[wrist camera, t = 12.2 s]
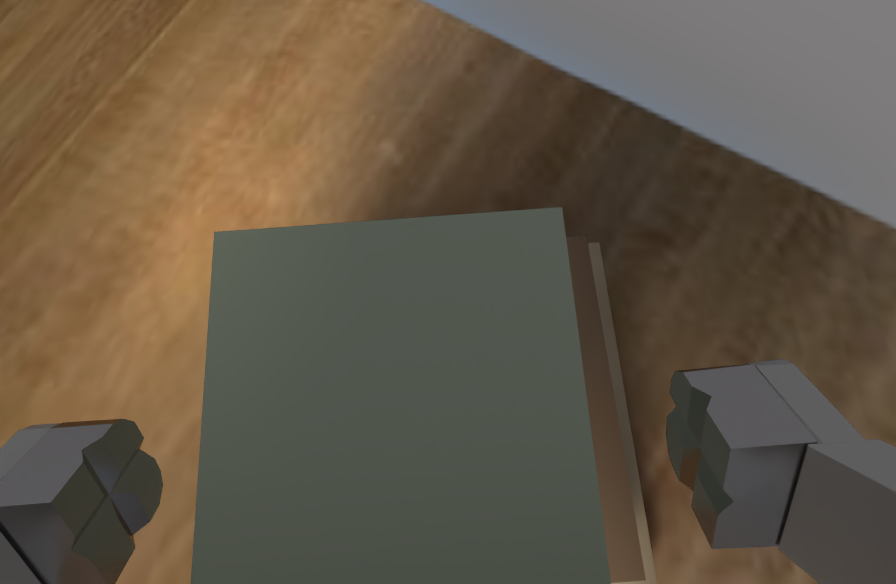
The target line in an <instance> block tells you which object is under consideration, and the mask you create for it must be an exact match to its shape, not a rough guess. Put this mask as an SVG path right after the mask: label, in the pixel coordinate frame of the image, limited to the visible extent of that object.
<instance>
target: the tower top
mask: <svg viewBox="0 0 896 584" xmlns="http://www.w3.org/2000/svg"><path fill="white" fill-rule="evenodd" d="M566 241H567V248H568V256H569V264H570V271H571V279H572V287H573V294H574V302H575V310H576V318H577V325H578V333H579V341H580V348H581V356H582V364H583V371H584V379H585V387H586V394H587V402H588V410H589V417H590V425H591V433H592V440H593V448H594V456H595V464H596V471H597V479H598V487H599V494H600V502H601V510H602V517H603V525H604V533H605V540H606V548H607V556H608V563H609V571H610V579H611V583H618V582H631V581H645V580H646V578H645V572H644V566H643V560H642V554H641V548H640V543H639V537H638V531H637V525H636V519H635V514H634V508H633V502H632V496H631V490H630V485H629V479H628V473H627V467H626V461H625V456H624V450H623V444H622V438H621V432H620V427H619V421H618V415H617V409H616V403H615V397H614V392H613V386H612V380H611V374H610V368H609V363H608V357H607V351H606V345H605V339H604V334H603V328H602V322H601V316H600V310H599V305H598V299H597V293H596V287H595V281H594V276H593V270H592V264H591V258H590V252H589V246H588V241H587V235H582V236H573V237H566Z"/></svg>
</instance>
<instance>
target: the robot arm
mask: <svg viewBox="0 0 896 584" xmlns="http://www.w3.org/2000/svg"><path fill="white" fill-rule="evenodd" d="M670 394H671V396H672V398H673V400H674V402H675V404H676V405H677V407H676V408H675V409H674V410H673V411H672V412H671V413H670V414H669V415H668V416H667V426H666V438H667V446H668V453H669V456H670V459H671V463H672V466H673V468H674V470H675V473H676V475H677V477H678V479H679V481H680V482H682V483H683V484H685V485H686V486H687V487H689V488H690V489H692V490H693V491H694V492H693V499H692V509H693V511H694V513H695V515H696V517H697V519H698V521H699V523H700V526H701V528H702V530H703V532H704V534H705V536H706V538H707V540H708V542H709V544H710V546H711V548H712V549H723V548H747V547H771V546H779V548H778V550H779V551H781V552H782V553H783V554H784V555H785V556H787V557H788V558H789V559H790V560H792V561H793V562H794V563H795V564H796V565H798V566H799V567H800V568H801V569H803V570H804V571H805V572H806V573H807V574H809V575H810V576H811V577H812V578H813V579H815V580H816V581H817V582H818V583H820V584H896V447H894V446H892V445H890V444H888V443H885V442H883V441H881V440H879V439H873V440H865V439H864V438H863V437H862V436H861V435H860V434H859V433H858V431H857V430H856V429H855V428H854V427H853V426H852V425H851V424H850V423H849V422H848V421H847V420H846V419H845V418H844V417H843V416H842V414H841V413H840V412H839V411H838V410H837V409H836V408H835V407H834V406H833V405H832V404H831V403H830V402H829V401H828V400H827V399H826V398H825V396H824V395H823V394H822V393H821V392H820V391H819V390H818V389H817V388H816V387H815V386H814V385H813V384H812V383H811V382H810V381H809V380H808V378H807V377H806V376H805V375H804V374H803V373H802V372H801V371H800V370H799V369H798V368H797V367H796V366H795V365H794V364H793V363H792V362H789V361H787V360H785V359H780V360H771V361H762V362H753V363H747V364H742V365H732V366H721V367H710V368H699V369H689V370H678V371H675V372H674V375H673V377H672V379H671V387H670ZM143 439H144V437H143V436H142V434H141V432H140V430H139V429H138V427H137V425H136V424H135V422H133V421H130V420H126V419H112V420H96V421H80V422H65V423H61V424H42V425H32V426H29V427H26V428H24V429H21V430H18V431H17V432H16V433H15V434H14V435H13V436H12V437H11V438H10V439H9V440H8V441H7V442H6V443H5V444H4V445H3V446H2V447H1V448H0V584H115V582H116V581H117V579H118V577H119V575H120V574H121V572H122V570H123V568H124V567H125V565H126V563H127V561H128V560H129V558H130V556H131V554H132V553H133V551H134V549H135V543H134V538H133V535H134V534H135V533H136V532H137V531H139V530H140V529H141V528H142V527H144V526H145V525H146V524H147V523H149V522H150V521H151V519H152V517H153V515H154V513H155V512H156V510H157V508H158V506H159V504H160V498H161V493H162V487H163V482H162V476H161V470H160V468H159V466H158V464H157V462H156V460H155V459H154V458H153V457H151V456H150V455H148V454H147V453H145V452H143V451H142V450H140V447H141V444H142V441H143Z"/></svg>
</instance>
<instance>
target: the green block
mask: <svg viewBox="0 0 896 584" xmlns="http://www.w3.org/2000/svg"><path fill="white" fill-rule="evenodd" d="M191 584H611V579H610V571H609V563H608V556H607V548H606V540H605V533H604V525H603V517H602V510H601V502H600V494H599V487H598V479H597V471H596V464H595V456H594V448H593V440H592V433H591V425H590V417H589V410H588V402H587V394H586V387H585V379H584V371H583V364H582V356H581V348H580V341H579V333H578V325H577V318H576V310H575V302H574V294H573V287H572V279H571V271H570V264H569V256H568V248H567V241H566V233H565V225H564V218H563V210H562V207H555V208H541V209H527V210H513V211H499V212H486V213H472V214H458V215H444V216H430V217H416V218H402V219H388V220H375V221H361V222H347V223H333V224H319V225H305V226H291V227H277V228H264V229H250V230H236V231H222V232H214V244H213V259H212V274H211V289H210V304H209V319H208V334H207V349H206V364H205V379H204V394H203V409H202V424H201V439H200V454H199V469H198V484H197V499H196V514H195V528H194V543H193V558H192V573H191Z"/></svg>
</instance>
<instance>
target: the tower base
mask: <svg viewBox="0 0 896 584" xmlns="http://www.w3.org/2000/svg"><path fill="white" fill-rule="evenodd" d="M588 246H589V252H590V258H591V264H592V270H593V276H594V281H595V287H596V293H597V299H598V305H599V310H600V316H601V322H602V328H603V334H604V339H605V345H606V351H607V357H608V363H609V368H610V374H611V380H612V386H613V392H614V397H615V403H616V409H617V415H618V421H619V427H620V432H621V438H622V444H623V450H624V456H625V461H626V467H627V473H628V479H629V485H630V490H631V496H632V502H633V508H634V514H635V519H636V525H637V531H638V537H639V543H640V548H641V554H642V560H643V566H644V572H645V578H646V580H645V581H631V582H618V583H611V584H657V579H656V573H655V567H654V562H653V556H652V550H651V544H650V538H649V532H648V526H647V520H646V514H645V508H644V503H643V497H642V491H641V485H640V479H639V473H638V467H637V461H636V455H635V449H634V444H633V438H632V432H631V426H630V420H629V414H628V408H627V402H626V396H625V390H624V384H623V379H622V373H621V367H620V361H619V355H618V349H617V343H616V337H615V331H614V325H613V320H612V314H611V308H610V302H609V296H608V290H607V284H606V278H605V272H604V266H603V261H602V255H601V249H600V243H599V242H594V243H588Z"/></svg>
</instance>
